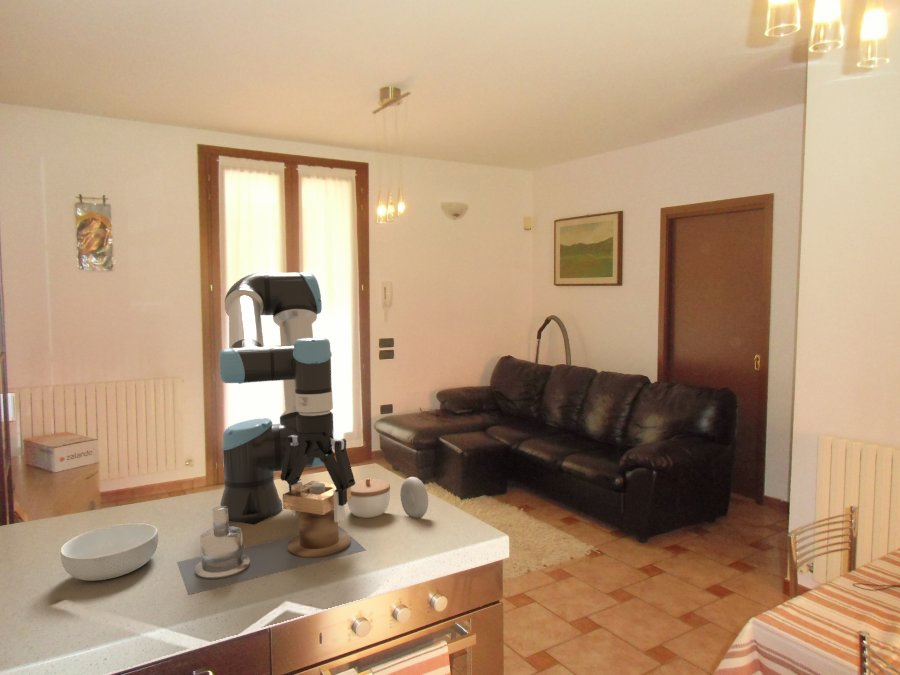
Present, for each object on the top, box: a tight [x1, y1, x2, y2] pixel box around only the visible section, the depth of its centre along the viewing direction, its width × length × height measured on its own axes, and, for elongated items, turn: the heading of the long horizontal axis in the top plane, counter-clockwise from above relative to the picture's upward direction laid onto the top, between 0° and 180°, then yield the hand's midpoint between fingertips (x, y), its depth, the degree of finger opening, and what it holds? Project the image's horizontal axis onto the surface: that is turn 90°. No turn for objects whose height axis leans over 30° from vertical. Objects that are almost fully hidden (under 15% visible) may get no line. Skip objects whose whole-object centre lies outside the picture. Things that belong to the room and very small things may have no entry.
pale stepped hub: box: [195, 505, 250, 580], centre depth 117 cm, size 10×10×12 cm
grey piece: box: [399, 476, 429, 519], centre depth 145 cm, size 10×4×10 cm, turn 34°
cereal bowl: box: [59, 522, 159, 582], centre depth 119 cm, size 17×17×7 cm
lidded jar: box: [347, 477, 391, 519], centre depth 146 cm, size 11×11×9 cm
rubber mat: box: [176, 525, 367, 595], centre depth 122 cm, size 34×16×1 cm, turn 121°
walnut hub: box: [288, 483, 351, 558], centre depth 127 cm, size 13×13×13 cm
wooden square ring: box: [282, 480, 351, 515], centre depth 126 cm, size 10×10×3 cm
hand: (318, 516), depth 127 cm, fingers closed on wooden square ring, 10 cm apart
